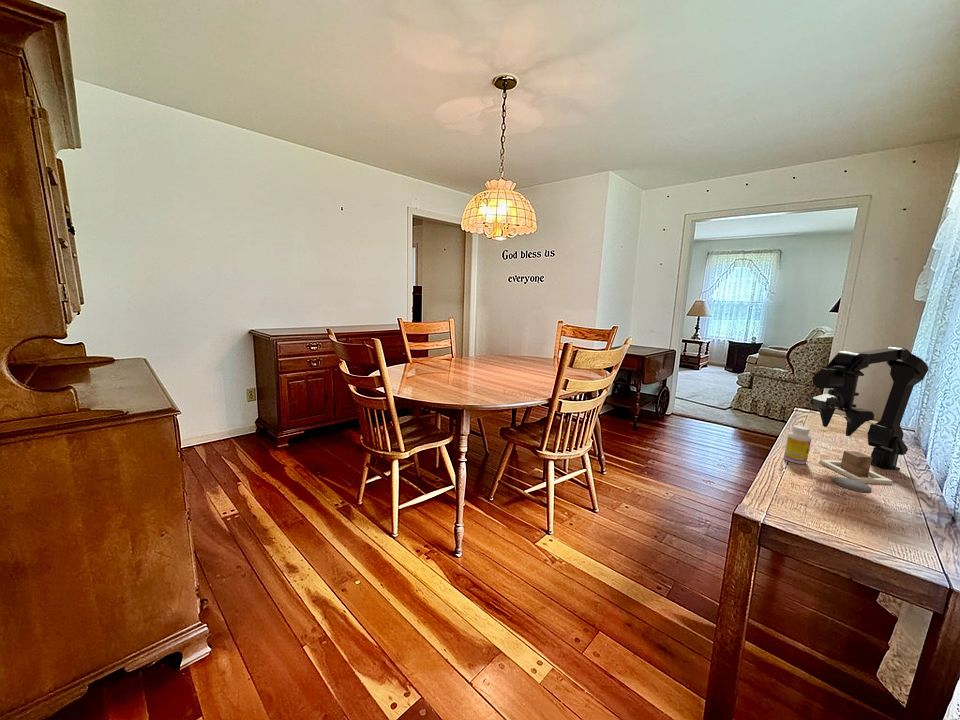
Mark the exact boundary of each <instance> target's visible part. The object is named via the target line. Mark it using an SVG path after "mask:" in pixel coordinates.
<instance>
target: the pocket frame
mask: <svg viewBox="0 0 960 720" xmlns="http://www.w3.org/2000/svg"><path fill="white" fill-rule="evenodd" d="M841 461H842V460H833V459H832V460H831V459H819V464H821V465H823V466H825V467H827V468H828V469H831V470H832V471H835V472H837V473H839V474H841V475H843V476H845V478H849V479H853V480H856V481H859V482H862V483H864V484H878V485H879V484H881V485H893V480H892V479H890V478H888V477H886V476H884V475H882V474H879V473H877V472H875V471H872V470H871V469H870V470H869V474H868V477H862V476H856V475H854V474H852V473H850V472H848V471H846V470H844V469H842V468H840V466H841Z"/></svg>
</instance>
